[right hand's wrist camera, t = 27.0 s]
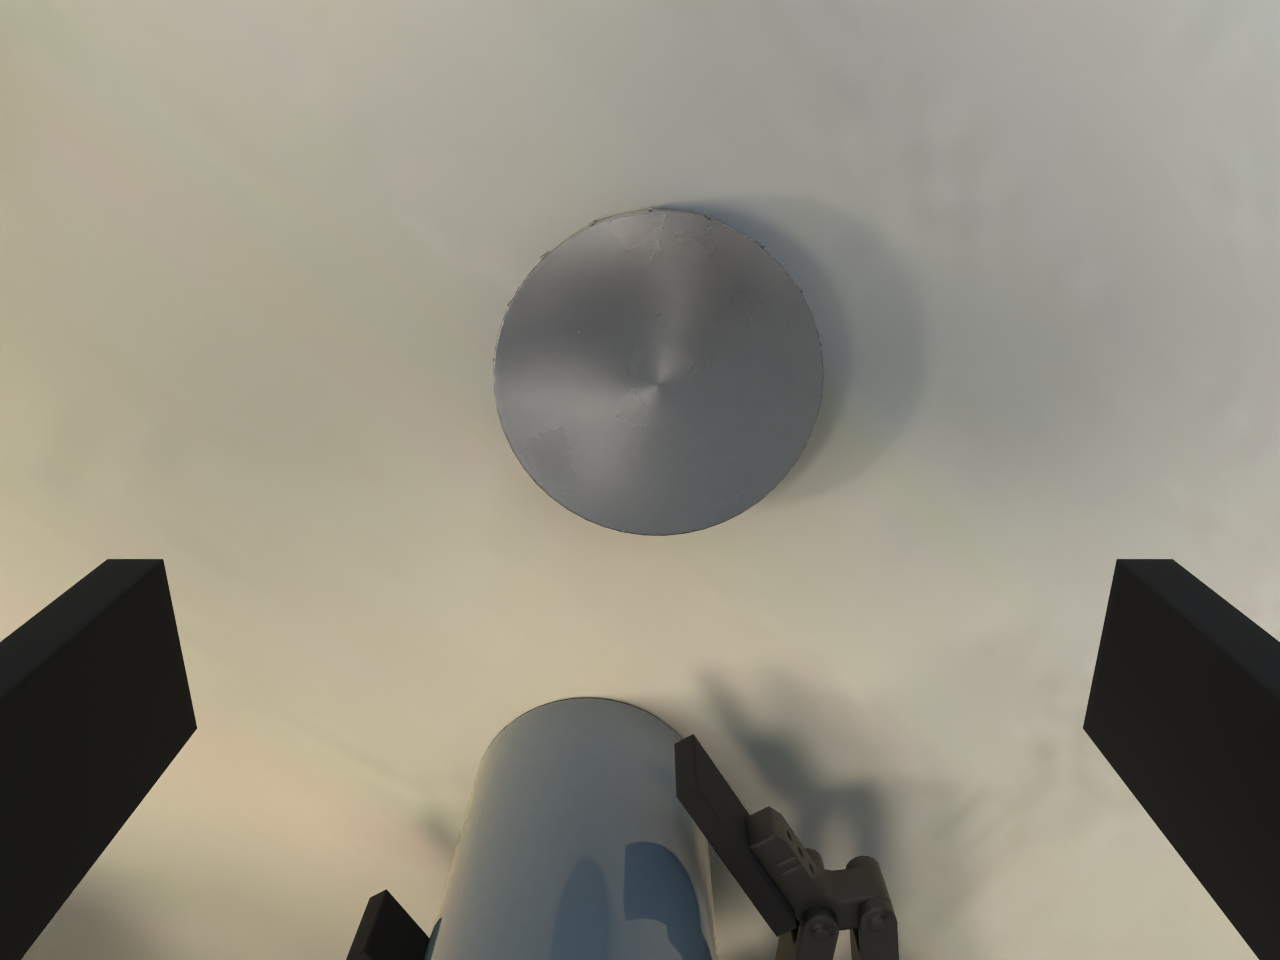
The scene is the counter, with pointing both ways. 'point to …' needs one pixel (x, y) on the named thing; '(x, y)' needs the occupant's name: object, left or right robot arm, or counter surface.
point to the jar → (578, 846)
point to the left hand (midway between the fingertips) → (519, 845)
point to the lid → (658, 372)
